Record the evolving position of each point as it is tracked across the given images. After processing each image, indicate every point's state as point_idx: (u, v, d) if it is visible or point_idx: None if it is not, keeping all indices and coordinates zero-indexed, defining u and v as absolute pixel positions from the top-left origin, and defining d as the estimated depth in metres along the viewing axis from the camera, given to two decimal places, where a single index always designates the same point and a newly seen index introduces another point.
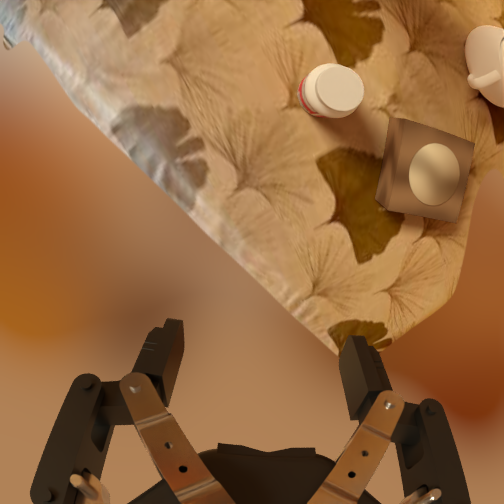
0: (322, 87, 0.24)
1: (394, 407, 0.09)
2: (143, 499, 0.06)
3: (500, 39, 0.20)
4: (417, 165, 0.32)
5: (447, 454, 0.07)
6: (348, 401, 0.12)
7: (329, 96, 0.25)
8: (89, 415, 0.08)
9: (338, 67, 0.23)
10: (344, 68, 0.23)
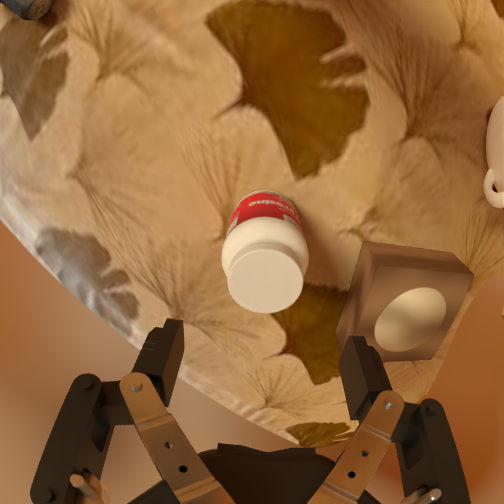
0: (235, 285, 0.18)
1: (394, 407, 0.09)
2: (142, 499, 0.06)
3: None
4: (387, 317, 0.27)
5: (447, 454, 0.07)
6: (348, 401, 0.12)
7: (246, 296, 0.19)
8: (89, 415, 0.08)
9: (261, 252, 0.17)
10: (271, 253, 0.17)
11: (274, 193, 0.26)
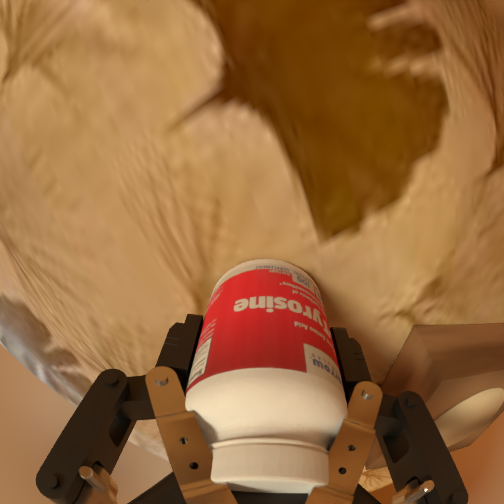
0: None
1: (371, 398, 0.10)
2: (143, 499, 0.06)
3: None
4: None
5: (434, 444, 0.07)
6: None
7: None
8: (110, 410, 0.08)
9: (254, 481, 0.06)
10: (277, 483, 0.06)
11: (283, 270, 0.14)
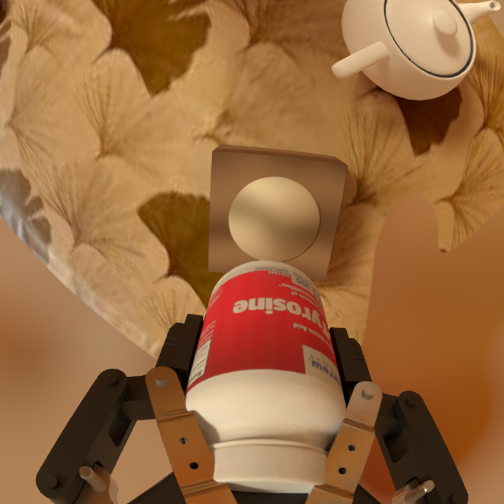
0: None
1: (371, 398, 0.10)
2: (142, 499, 0.06)
3: None
4: (239, 213, 0.27)
5: (434, 444, 0.07)
6: None
7: None
8: (110, 410, 0.08)
9: (253, 482, 0.06)
10: (276, 484, 0.06)
11: (282, 271, 0.14)
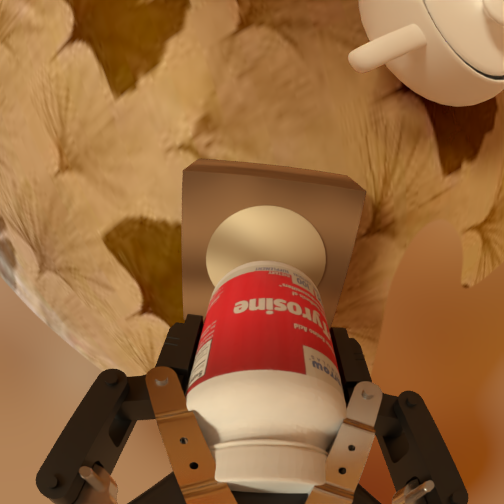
0: None
1: (371, 398, 0.10)
2: (142, 499, 0.06)
3: None
4: (220, 252, 0.21)
5: (434, 444, 0.07)
6: None
7: None
8: (110, 410, 0.08)
9: (254, 482, 0.06)
10: (276, 484, 0.06)
11: (282, 271, 0.14)
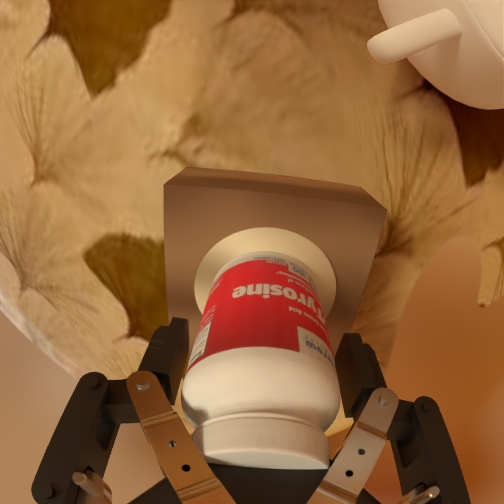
0: None
1: (388, 404, 0.09)
2: (142, 499, 0.06)
3: None
4: (210, 282, 0.17)
5: (444, 451, 0.07)
6: (343, 398, 0.12)
7: None
8: (94, 413, 0.08)
9: (249, 453, 0.07)
10: (270, 455, 0.07)
11: (279, 261, 0.15)
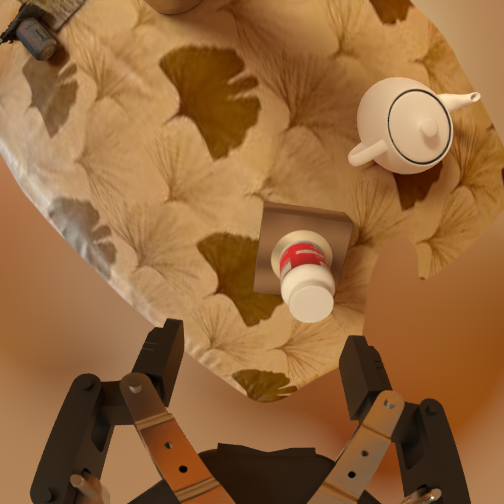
0: (294, 306, 0.30)
1: (394, 407, 0.09)
2: (142, 499, 0.06)
3: (391, 100, 0.28)
4: (279, 253, 0.40)
5: (448, 454, 0.07)
6: (348, 401, 0.12)
7: (300, 313, 0.31)
8: (89, 415, 0.08)
9: (311, 287, 0.29)
10: (317, 288, 0.29)
11: (310, 243, 0.38)
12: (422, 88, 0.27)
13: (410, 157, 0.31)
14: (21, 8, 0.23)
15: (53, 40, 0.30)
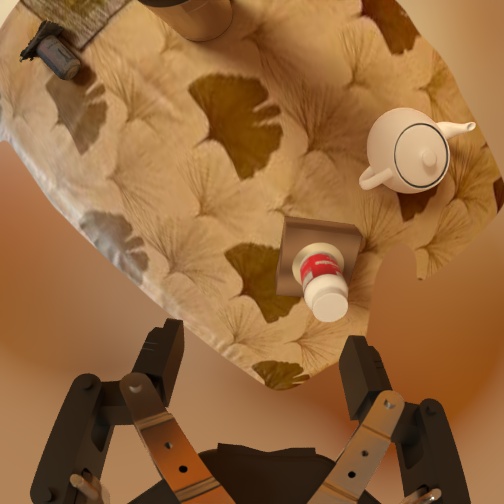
0: (316, 309, 0.37)
1: (394, 407, 0.09)
2: (142, 499, 0.06)
3: (398, 134, 0.34)
4: (299, 262, 0.47)
5: (448, 454, 0.07)
6: (348, 401, 0.12)
7: (321, 314, 0.38)
8: (89, 415, 0.08)
9: (330, 294, 0.36)
10: (335, 295, 0.36)
11: (326, 254, 0.44)
12: (425, 122, 0.33)
13: (412, 182, 0.37)
14: (41, 26, 0.28)
15: (77, 60, 0.35)
